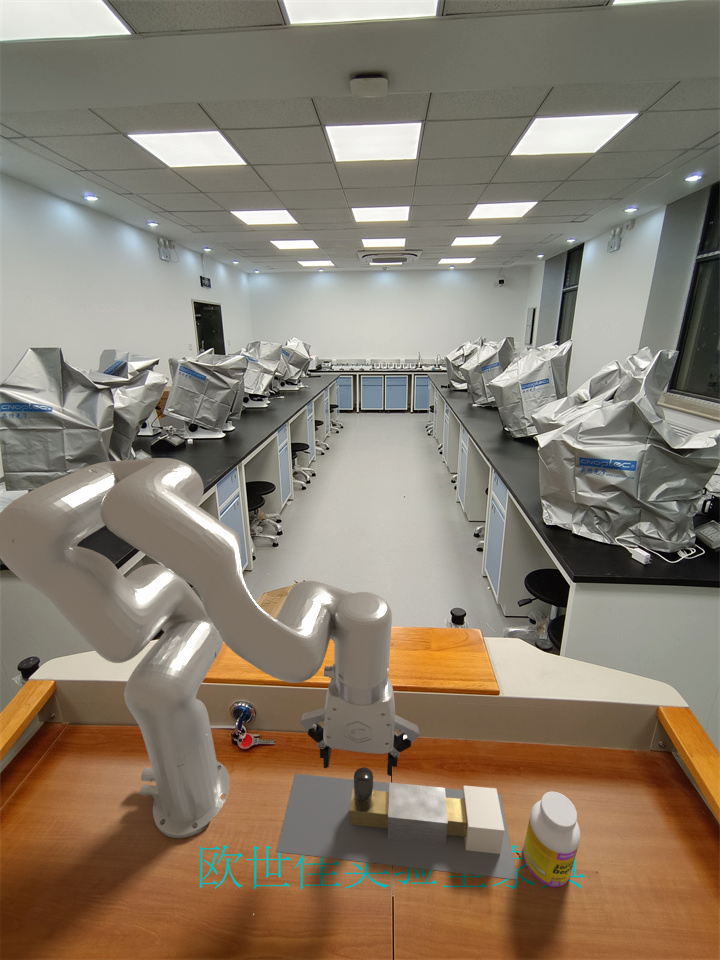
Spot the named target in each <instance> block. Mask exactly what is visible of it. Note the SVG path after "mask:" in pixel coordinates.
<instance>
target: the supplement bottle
mask: <svg viewBox="0 0 720 960" xmlns="http://www.w3.org/2000/svg"><path fill="white" fill-rule="evenodd" d="M530 810H531V811H530V814H529V820H528V825H527V828H526V833H525V838H524V843H523V848H522V852H523V853H522V854H523V859H524V861H525V864H526V867H527V868H528V869H529V871H530V873H531V874H532V876H534V877H535V879H537V880H538V881H540V882H541V883H542V884H544V885H547V886H549V887H553V888H558V887H562V886H564V885H566V884H567V883H568V881H569V880H570V877H571V874H572V871H573V866H574V863H575V859H576V856H577V853H578V849H579V846H580V843H581V842H580V841H581V828H580V826H579V823H578V821H577V820H578V813H577V809H576V806H575V805H574V803H573V802H572V801H571V800H570V799H569V798H568V797H567V796H565V795H564V794H562V793H560V792H557V791H548V792H545V793H544V794H543V796H542V797H541V800H539V801H537V802H536V803H534V805H533V806H532V808H531V809H530Z"/></svg>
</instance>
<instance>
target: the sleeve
mask: <svg viewBox="0 0 720 960" xmlns="http://www.w3.org/2000/svg"><path fill="white" fill-rule="evenodd" d="M388 783H389V808H388V839H396V840H405V841H414V842H423V843H432V844H441V845H446V837H447V827H448V819H447V807H446V795H445V788H446V787H440V786H439V787H438V786H431V785H430V786H428V785H418V784H408V783H398V782H388Z"/></svg>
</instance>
